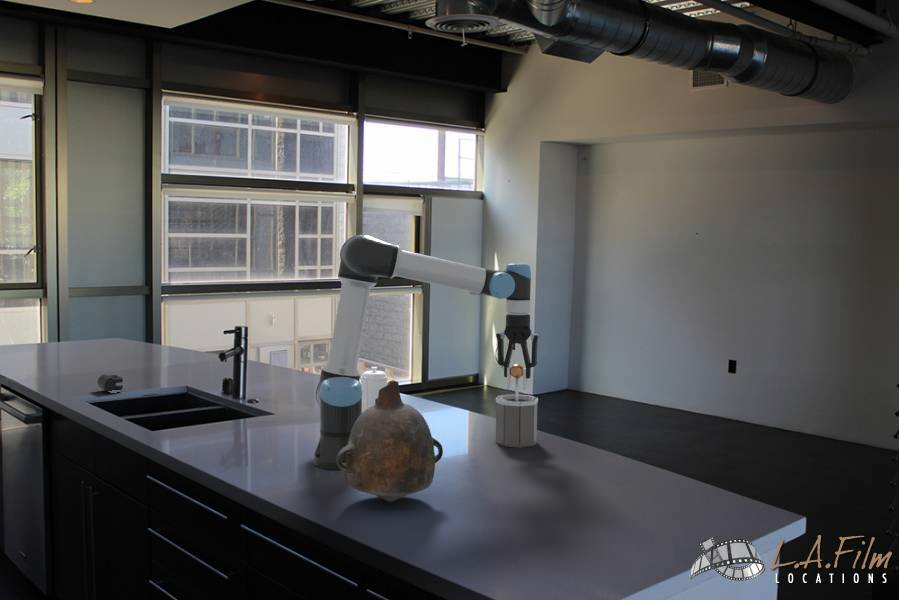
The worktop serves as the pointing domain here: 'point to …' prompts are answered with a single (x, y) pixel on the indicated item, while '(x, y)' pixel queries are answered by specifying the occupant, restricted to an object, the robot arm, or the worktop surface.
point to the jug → (390, 449)
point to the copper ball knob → (516, 373)
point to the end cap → (110, 382)
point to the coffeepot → (372, 386)
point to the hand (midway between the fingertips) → (517, 388)
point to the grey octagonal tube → (516, 420)
